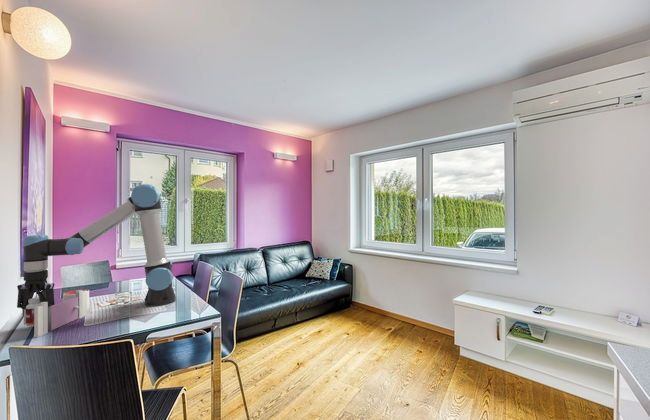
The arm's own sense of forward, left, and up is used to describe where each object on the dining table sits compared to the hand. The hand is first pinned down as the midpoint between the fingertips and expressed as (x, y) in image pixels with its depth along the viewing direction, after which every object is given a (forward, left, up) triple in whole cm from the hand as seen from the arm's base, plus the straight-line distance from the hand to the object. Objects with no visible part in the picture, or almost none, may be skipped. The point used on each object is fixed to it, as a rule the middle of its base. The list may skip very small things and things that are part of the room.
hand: (36, 323), depth 124 cm
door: (-11, -2, -2) cm, 11 cm away
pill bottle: (0, 0, -1) cm, 1 cm away
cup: (-1, -20, -2) cm, 20 cm away
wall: (-10, -2, -2) cm, 10 cm away
